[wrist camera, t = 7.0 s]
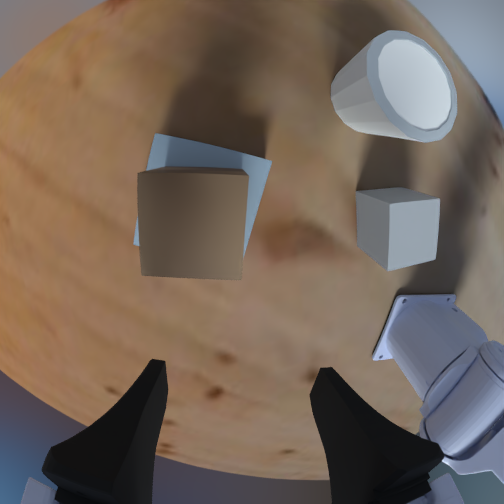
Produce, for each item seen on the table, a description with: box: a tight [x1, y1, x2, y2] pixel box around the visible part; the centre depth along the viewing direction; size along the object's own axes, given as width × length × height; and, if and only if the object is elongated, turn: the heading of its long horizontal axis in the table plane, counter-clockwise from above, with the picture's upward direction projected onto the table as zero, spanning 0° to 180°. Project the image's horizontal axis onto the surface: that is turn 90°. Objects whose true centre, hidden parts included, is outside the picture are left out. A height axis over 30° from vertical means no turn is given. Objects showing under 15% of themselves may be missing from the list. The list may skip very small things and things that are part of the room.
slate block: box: [133, 133, 272, 257], centre depth 17 cm, size 7×7×4 cm
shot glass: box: [331, 30, 457, 143], centre depth 13 cm, size 7×7×7 cm
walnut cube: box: [137, 166, 249, 280], centre depth 13 cm, size 4×4×5 cm
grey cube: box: [356, 187, 440, 271], centre depth 18 cm, size 4×4×5 cm
